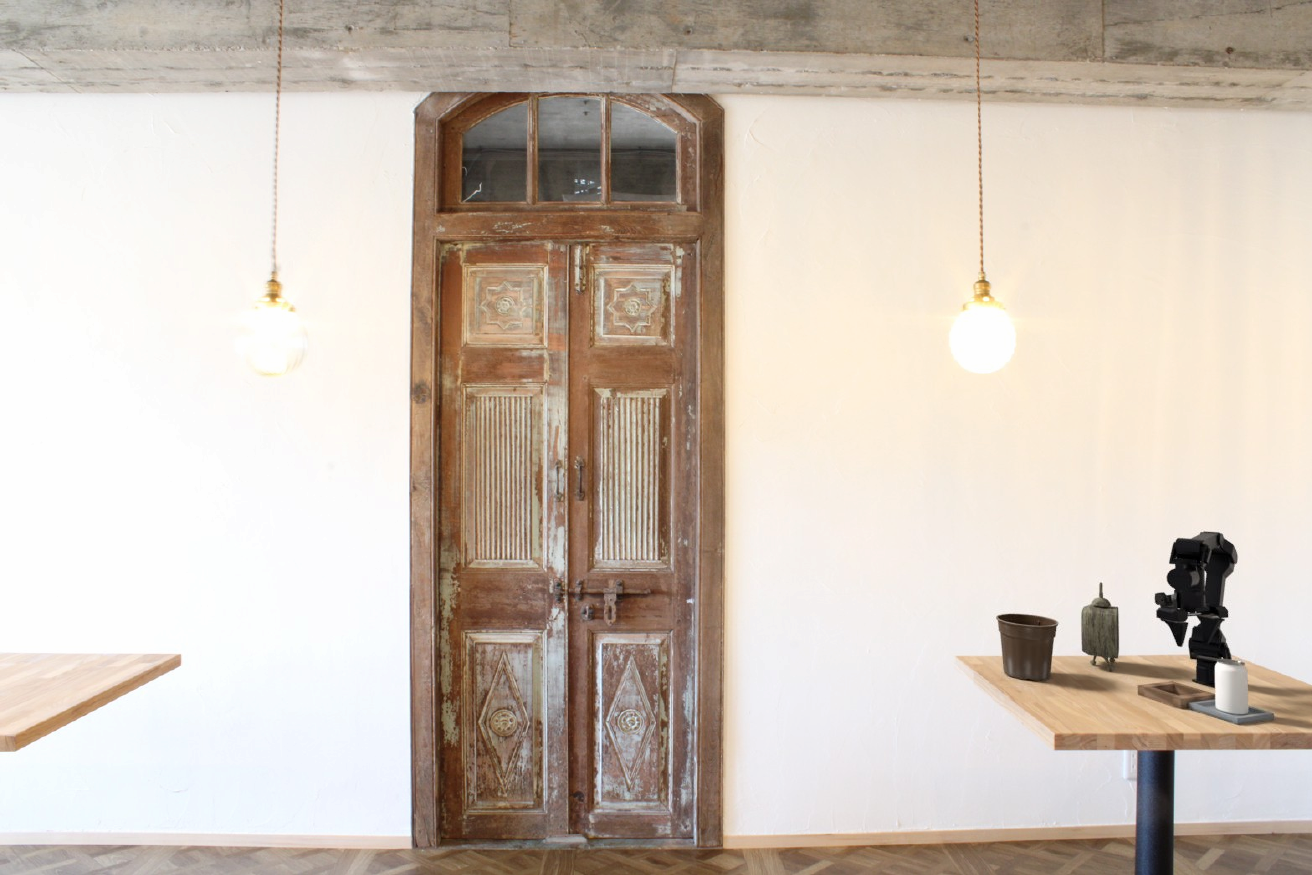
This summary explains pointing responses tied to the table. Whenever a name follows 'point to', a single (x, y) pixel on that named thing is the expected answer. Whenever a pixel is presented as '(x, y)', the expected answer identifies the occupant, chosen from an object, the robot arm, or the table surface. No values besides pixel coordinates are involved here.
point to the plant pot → (1027, 645)
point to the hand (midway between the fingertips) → (1192, 645)
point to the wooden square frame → (1165, 690)
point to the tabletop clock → (1100, 630)
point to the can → (1231, 687)
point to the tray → (1211, 710)
